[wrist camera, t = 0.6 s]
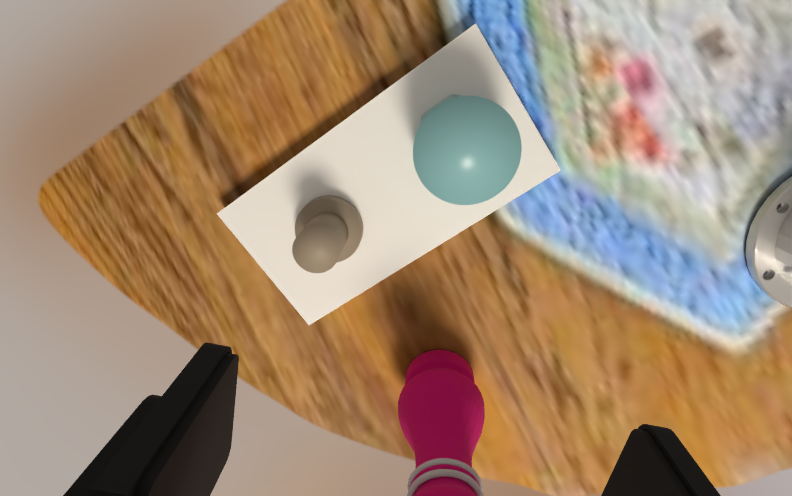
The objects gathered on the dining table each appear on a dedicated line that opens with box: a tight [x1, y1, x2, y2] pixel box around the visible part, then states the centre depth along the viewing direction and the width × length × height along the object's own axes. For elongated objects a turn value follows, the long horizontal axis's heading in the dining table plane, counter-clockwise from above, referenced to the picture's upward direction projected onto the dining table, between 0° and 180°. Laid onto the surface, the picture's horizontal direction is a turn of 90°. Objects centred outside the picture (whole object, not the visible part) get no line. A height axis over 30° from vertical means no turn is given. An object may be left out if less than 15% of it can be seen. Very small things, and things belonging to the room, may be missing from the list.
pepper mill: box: [398, 349, 484, 496], centre depth 33 cm, size 7×7×20 cm
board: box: [217, 24, 560, 325], centre depth 34 cm, size 24×12×7 cm, turn 125°
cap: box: [413, 94, 522, 205], centre depth 31 cm, size 7×7×6 cm
